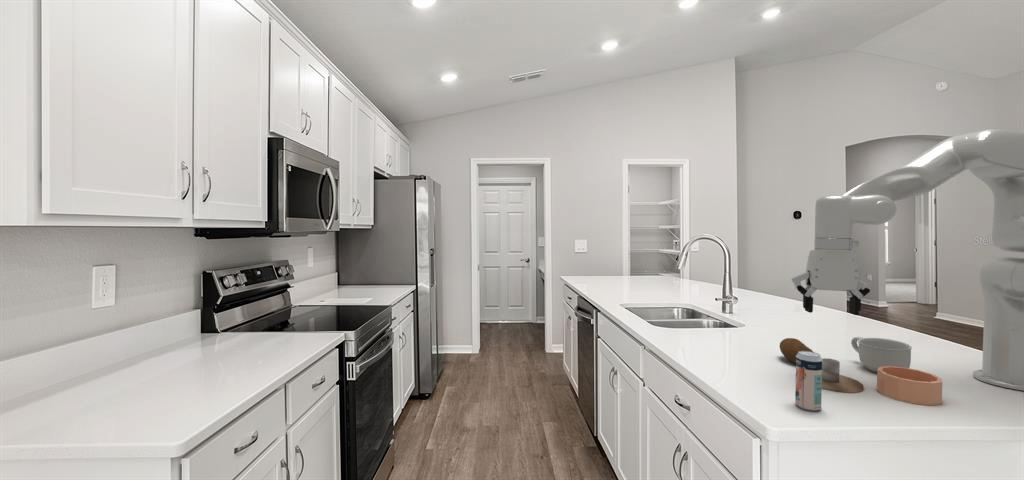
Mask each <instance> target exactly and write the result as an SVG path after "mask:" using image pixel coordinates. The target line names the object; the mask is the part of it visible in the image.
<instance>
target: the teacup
mask: <svg viewBox="0 0 1024 480" xmlns="http://www.w3.org/2000/svg"><path fill="white" fill-rule="evenodd" d="M850 343H851V347H852V348H853V349H854V350H855V352H856V353H858V357H859V361H860V363H861V364H862V365H863V366H865V367H866V368H867V369H868V370H869V371H871V372H874V373H876V374H877V370H878V368H879V367H883V366H895V367H905V368H910V367H911V362H912V359H911V358H912V346H911V345H910V344H908V343H905V342H903V341H900V340H895V339H890V338H884V337H882V338H881V337H862V336H854V337H852V339H851V342H850ZM910 369H911V368H910Z"/></svg>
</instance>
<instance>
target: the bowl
mask: <svg viewBox="0 0 1024 480" xmlns="http://www.w3.org/2000/svg"><path fill="white" fill-rule="evenodd" d="M876 375H877V376H876V377H877V378H876V381H877V382H876V391H877V392H879V393H880V394H882V395H883V396H886V397H889V398H892V399H894V400H897V401H900V402H905V403H910V404H914V405H923V406H931V407H932V406H939V405H940V406H941V405H942V401H943V400H942V399H943V378H942V377H940V376H938V375H936V374H933V373H930V372H927V371H923V370H920V369H916V368H905V367H895V366H883V367H879V368H878V370H877V373H876Z"/></svg>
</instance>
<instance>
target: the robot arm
mask: <svg viewBox="0 0 1024 480" xmlns="http://www.w3.org/2000/svg"><path fill="white" fill-rule="evenodd" d="M966 170H969V172H971V174H973V176H974V177H976V178H978V179H979V180H981V181H982V182H983V183H984V184H985V185H987V187H988V188H989V189H990V191H991V192H992V194H993V198H994V199H993V201H994V202H993V203H994V204H993V205H994V208H993V215H992V216H993V217H992V228H991V229H992V232H991V236H992V237H991V238H992V242H993V243H992V244H994V246H995V247H996V248H998V249H1000V250H1001V251H1002V250H1003V251H1005V252H1006V251H1007V252H1011V253H1012V252H1014V253H1023V254H1024V131H1018V130H1012V129H1010V130H1009V129H1002V128H1001V129H1000V128H999V129H998V128H995V129H994V128H991V129H990V128H989V129H984V130H979V131H973V132H968V133H964V134H959V135H955V136H950V137H948V138H946V139H943V140H941V141H939V142H938V143H937V144H935V145H933V146H932V147H930V148H929V149H927V150H926V151H923V152H922V153H920V154H918V156H916V157H914V158H913V159H911V160H909V161H907V162H906V163H904V164H903V165H902V166H899V167H897V168H895V169H891V170H890V171H887V172H885V173H883V174H881V175H879V176H877V177H874V178H871V179H869V180H867V181H864V182H862V183H861V184H859V185H857V186H855V187H853V188H852V189H850V190H848V191H846V192H845V193H844V194H842V195H828V196H827V195H825V196H821V197H819V198H817V200H816V201H815V210H814V211H815V215H814V249H811V250H809V254H808V257H807V262H806V270H805V272H804V273H802V274H799V275H797V276H795V277H792V278H791V282H792V284H793V285H794V287H795V289H796V290H797V291H798V292H799V293H800V294H801V295H802V297H803V298H802V307H803V309H804V311H806V312H807V313H810V314H811V313H813V312H814V297H813V296H812V295H813V294H814V293H815V292H816V291H817V290H818V291H833V292H834V291H839V292H848V293H849V294H850V295H851V296H850V297H849V300H848V301H849V302H848V306H849V307H848V313H850V314H852V315H854V316H859V313H860V312H861V307H862V300H863V299H864V297H865V296H867V295H868V294H869V293H870V292H871V289H873V287H874V285H875V284H876V282H875V281H874V280H871V279H869V278H867V277H865V276H863V275H861V274H860V271H859V263H858V262H859V261H858V258H857V254H856V251H853V250H854V247H859V245H860V241H858V240H854V237H853V235H854V226H880V225H882V224H885V223H888V222H889V221H891V220H892V219H894V217H895V215H896V214H897V206H896V203H895V202H898V201H901V200H907V199H911V198H915V197H918V196H921V195H924V194H928V193H930V192H932V191H933V190H935V189H937V188H938V187H940V186H941V185H943V184H945V183H946V182H947V181H949V180H951V179H952V178H954V177H956V176H957V175H959V174H961V173H963V172H964V171H966ZM978 272H979V273H978V276H979V283H980V284H979V285H980V288H981V291H982V295H983V307H984V308H983V334H982V335H983V336H982V338H983V339H982V360H981V361H982V363H981V364H982V366H981V369H976V370H973V371H972V377H973V378H975V379H976V380H978V381H981V382H984V383H986V384H990V385H992V386H997V387H1001V388H1004V389H1005V388H1006V389H1010V390H1011V389H1012V390H1017V391H1023V392H1024V257H1010V256H1009V257H998V258H993V259H991V260H988V261H986V262H984V264H983V265H982V266H981V268H980V269H979V271H978ZM802 281H804V284H805V286H806V287H804V286H803V285H802V283H801V282H802ZM859 282H861V283H863V286H862V287H861V288H860V289H859V287H860V286H859V285H860V283H859Z"/></svg>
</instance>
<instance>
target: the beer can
mask: <svg viewBox="0 0 1024 480" xmlns="http://www.w3.org/2000/svg"><path fill="white" fill-rule="evenodd" d="M822 359H823V358H822V356H821V354H819V353H818V352H814V351H813V352H810V351H799V352H798V354H797V355H796V364H795V393H794V394H795V396H794V397H795V401H794V403H795V405H796V406H798V407H799V408H800V409H802V410H806V411H811V412H817V411H821V410H822V409H823V408H822V398H823V397H822V395H823V394H822V393H823V391H822V390H823V389H822V361H823V360H822Z"/></svg>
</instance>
